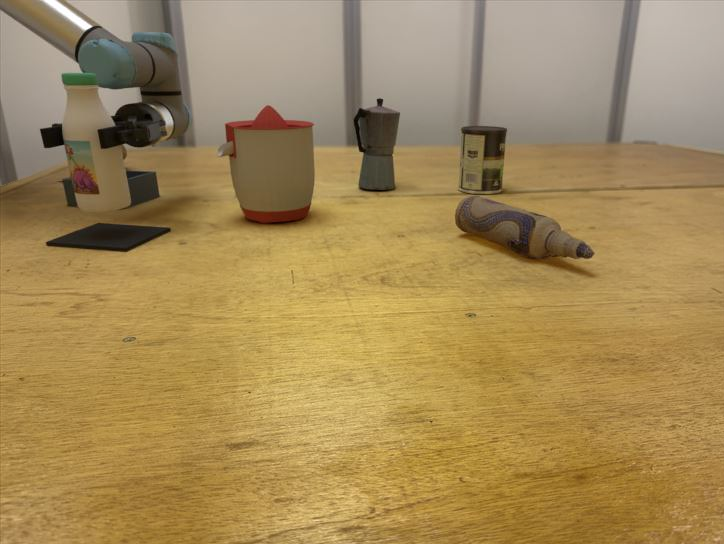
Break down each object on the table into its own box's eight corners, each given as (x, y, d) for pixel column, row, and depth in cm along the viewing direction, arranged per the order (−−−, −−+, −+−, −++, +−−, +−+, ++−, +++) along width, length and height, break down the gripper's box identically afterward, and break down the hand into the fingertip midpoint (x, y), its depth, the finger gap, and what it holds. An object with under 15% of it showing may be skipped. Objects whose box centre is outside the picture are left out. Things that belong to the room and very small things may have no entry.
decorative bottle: (450, 235, 94) (452, 196, 91) (483, 229, 98) (486, 192, 95) (569, 280, 74) (575, 232, 72) (604, 271, 78) (612, 225, 76)
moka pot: (410, 185, 134) (411, 97, 126) (376, 196, 122) (375, 100, 114) (377, 181, 138) (376, 96, 131) (341, 191, 126) (338, 99, 118)
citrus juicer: (217, 212, 107) (204, 103, 99) (303, 204, 114) (297, 102, 107) (234, 232, 94) (221, 109, 86) (330, 221, 101) (325, 107, 94)
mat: (46, 245, 86) (45, 241, 86) (98, 225, 97) (98, 222, 97) (126, 251, 84) (125, 247, 84) (171, 230, 95) (170, 227, 94)
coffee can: (501, 186, 133) (506, 126, 128) (502, 195, 124) (507, 130, 119) (459, 185, 135) (462, 125, 129) (456, 193, 126) (459, 129, 120)
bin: (67, 205, 111) (61, 179, 108) (109, 193, 122) (104, 169, 120) (122, 209, 108) (117, 182, 106) (159, 196, 120) (155, 171, 118)
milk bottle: (124, 199, 93) (100, 72, 86) (138, 208, 88) (113, 73, 80) (73, 206, 89) (43, 72, 81) (84, 215, 83) (53, 73, 76)
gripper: (202, 145, 102) (147, 166, 81) (92, 144, 102) (9, 164, 81) (196, 103, 99) (138, 112, 78) (83, 101, 99) (-5, 110, 78)
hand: (73, 138), depth 80 cm, fingers closed on milk bottle, 8 cm apart
